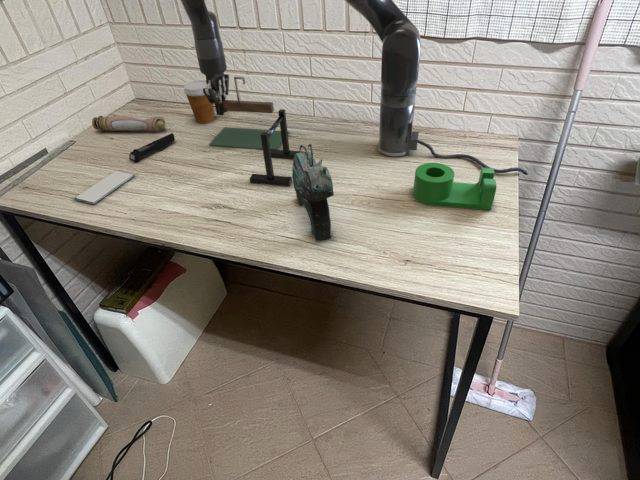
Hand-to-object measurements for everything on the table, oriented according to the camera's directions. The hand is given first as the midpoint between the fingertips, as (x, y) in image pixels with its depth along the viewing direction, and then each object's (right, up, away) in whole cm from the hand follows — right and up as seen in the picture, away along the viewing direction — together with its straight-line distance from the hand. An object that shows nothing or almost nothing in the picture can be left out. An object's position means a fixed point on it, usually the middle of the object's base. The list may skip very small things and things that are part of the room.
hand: (222, 113), depth 130 cm
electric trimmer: (-21, -12, +1) cm, 24 cm away
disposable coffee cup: (-10, +3, +17) cm, 20 cm away
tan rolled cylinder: (-33, 0, +11) cm, 35 cm away
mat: (+8, -7, +4) cm, 11 cm away
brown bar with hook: (+7, 0, -2) cm, 8 cm away
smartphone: (-28, -25, -14) cm, 40 cm away
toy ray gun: (+28, -34, -30) cm, 53 cm away
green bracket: (+62, -28, -26) cm, 72 cm away
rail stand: (+18, -19, -11) cm, 29 cm away
